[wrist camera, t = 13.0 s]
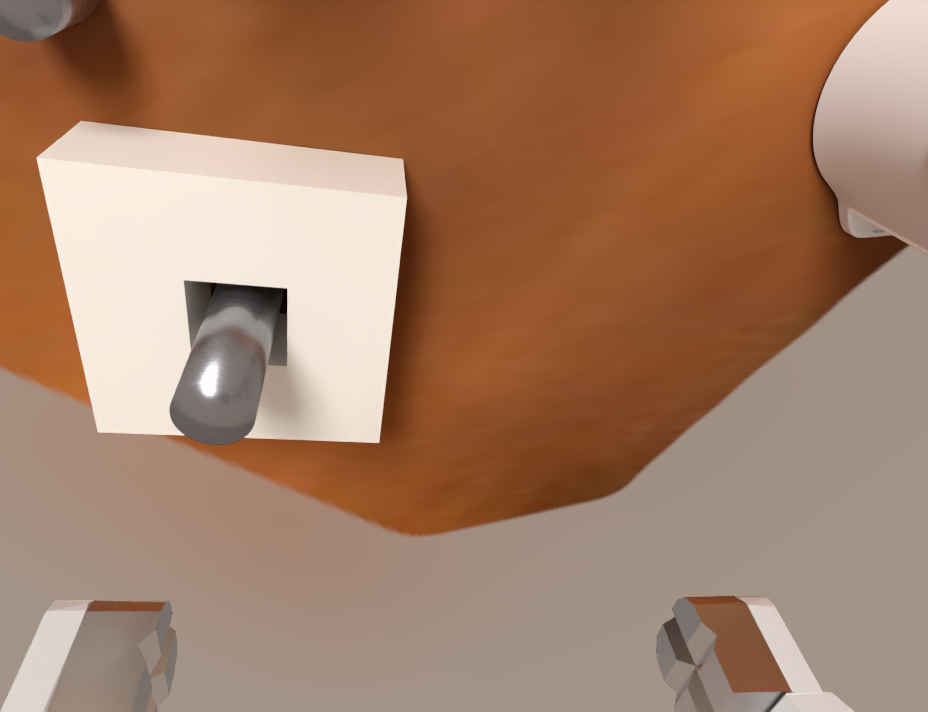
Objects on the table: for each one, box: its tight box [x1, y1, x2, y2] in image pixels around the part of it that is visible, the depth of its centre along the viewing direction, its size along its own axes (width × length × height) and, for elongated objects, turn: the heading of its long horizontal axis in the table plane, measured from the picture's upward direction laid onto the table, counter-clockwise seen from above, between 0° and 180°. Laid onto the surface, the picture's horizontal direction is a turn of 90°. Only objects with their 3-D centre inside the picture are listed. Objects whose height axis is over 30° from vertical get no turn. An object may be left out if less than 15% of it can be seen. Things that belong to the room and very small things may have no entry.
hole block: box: [37, 121, 407, 443], centre depth 40 cm, size 18×18×6 cm
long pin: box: [169, 283, 284, 445], centre depth 37 cm, size 4×4×14 cm
